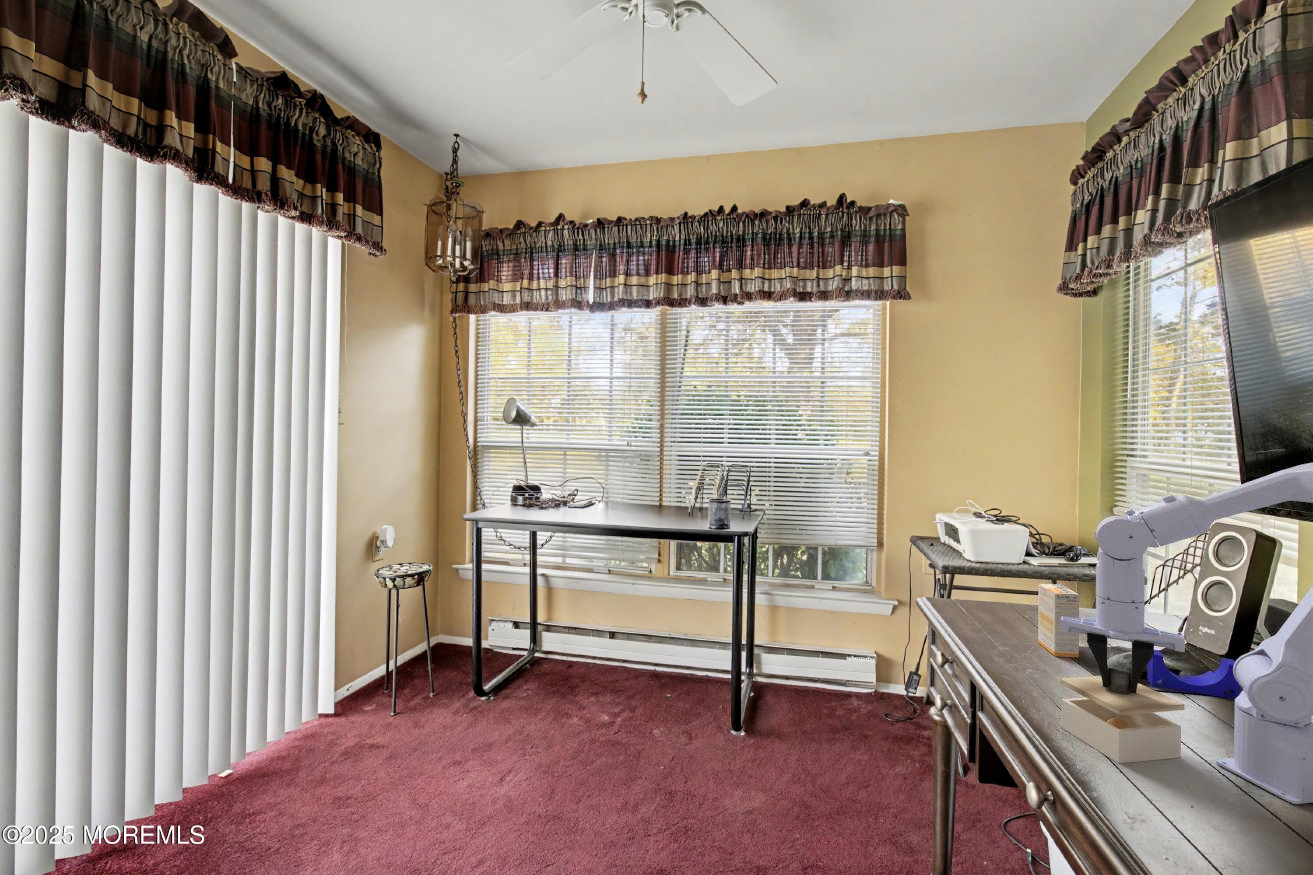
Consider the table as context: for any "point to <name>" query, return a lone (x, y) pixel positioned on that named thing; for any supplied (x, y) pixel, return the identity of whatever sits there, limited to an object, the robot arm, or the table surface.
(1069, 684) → the oak lid
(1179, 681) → the blue concave arch block
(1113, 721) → the orange ball
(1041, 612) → the supplement box
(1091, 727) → the cream box
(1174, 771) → the table surface
